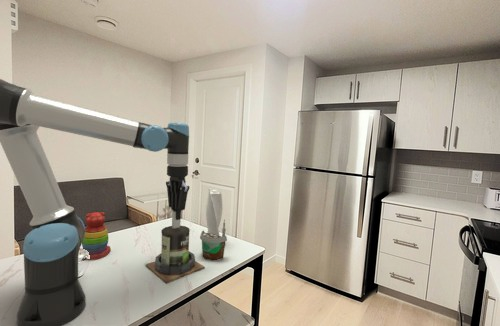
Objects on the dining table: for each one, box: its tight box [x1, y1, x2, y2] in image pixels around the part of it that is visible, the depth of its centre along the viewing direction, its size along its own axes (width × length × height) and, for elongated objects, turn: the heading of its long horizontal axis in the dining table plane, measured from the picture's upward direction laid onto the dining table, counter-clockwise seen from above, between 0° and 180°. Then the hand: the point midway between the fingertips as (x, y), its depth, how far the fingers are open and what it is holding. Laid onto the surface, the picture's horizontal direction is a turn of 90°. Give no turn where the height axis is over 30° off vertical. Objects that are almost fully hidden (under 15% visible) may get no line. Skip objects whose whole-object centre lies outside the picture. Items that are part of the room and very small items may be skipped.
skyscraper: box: [205, 187, 226, 237], centre depth 121 cm, size 8×8×28 cm
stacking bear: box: [81, 211, 112, 261], centre depth 107 cm, size 11×10×18 cm
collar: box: [154, 251, 196, 275], centre depth 100 cm, size 14×14×3 cm
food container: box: [199, 230, 228, 262], centre depth 110 cm, size 12×6×10 cm, turn 65°
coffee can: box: [160, 225, 191, 266], centre depth 100 cm, size 10×10×14 cm
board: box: [144, 260, 206, 284], centre depth 101 cm, size 16×16×1 cm
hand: (176, 227), depth 99 cm, fingers closed
